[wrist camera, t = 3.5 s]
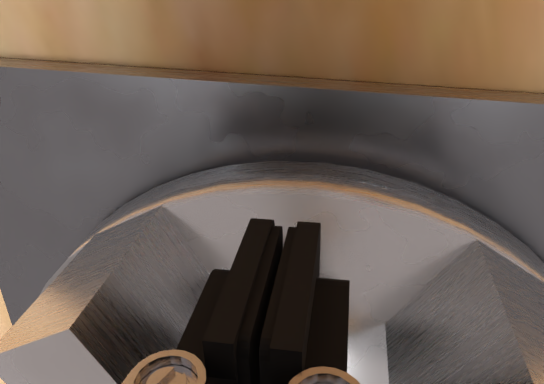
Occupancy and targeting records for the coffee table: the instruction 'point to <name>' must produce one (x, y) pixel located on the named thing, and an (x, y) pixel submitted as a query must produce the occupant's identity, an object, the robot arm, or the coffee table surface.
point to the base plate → (238, 146)
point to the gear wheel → (333, 265)
